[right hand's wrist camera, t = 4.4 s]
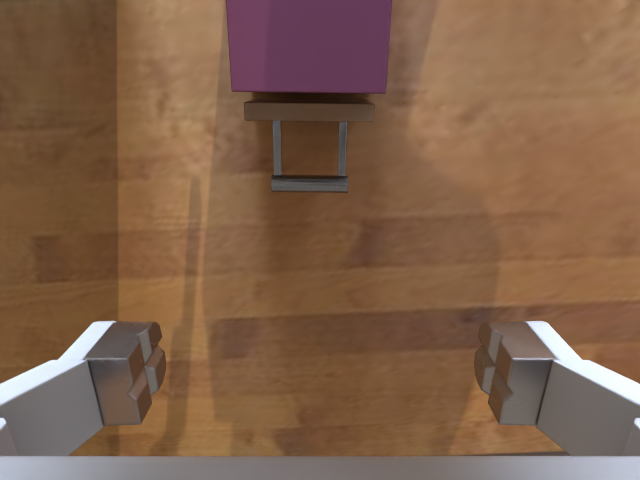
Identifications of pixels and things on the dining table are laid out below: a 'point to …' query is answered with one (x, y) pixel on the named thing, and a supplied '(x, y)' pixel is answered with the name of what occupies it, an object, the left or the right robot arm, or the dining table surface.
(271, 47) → the cabinet
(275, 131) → the drawer
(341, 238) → the dining table surface
